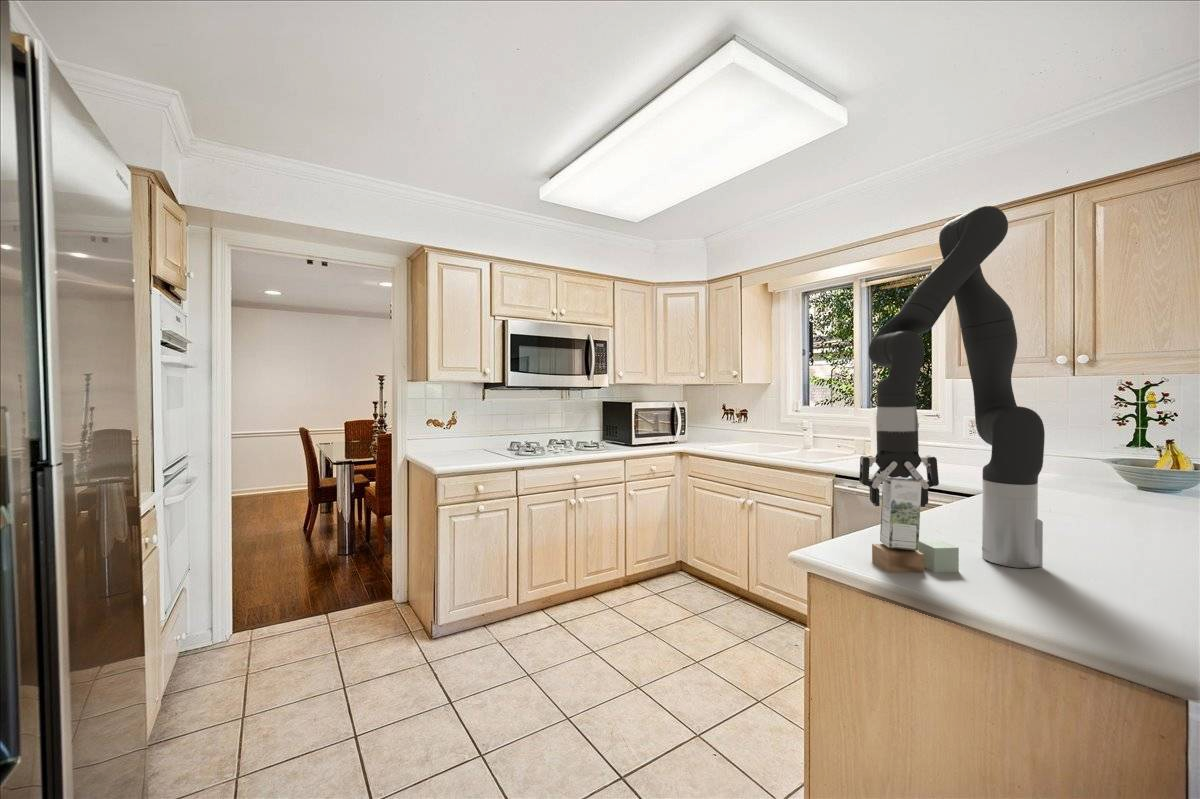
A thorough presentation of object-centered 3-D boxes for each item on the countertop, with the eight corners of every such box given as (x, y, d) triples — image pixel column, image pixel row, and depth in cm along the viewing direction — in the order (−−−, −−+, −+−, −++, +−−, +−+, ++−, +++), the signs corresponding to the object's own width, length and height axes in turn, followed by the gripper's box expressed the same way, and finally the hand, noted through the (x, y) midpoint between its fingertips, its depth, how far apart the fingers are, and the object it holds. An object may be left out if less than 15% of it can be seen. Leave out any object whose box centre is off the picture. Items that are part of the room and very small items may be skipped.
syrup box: (908, 544, 110) (910, 476, 110) (919, 551, 104) (921, 480, 105) (879, 541, 111) (881, 474, 112) (888, 548, 106) (891, 478, 106)
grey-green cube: (941, 563, 109) (941, 540, 109) (958, 572, 104) (958, 547, 104) (918, 564, 109) (918, 540, 109) (934, 572, 104) (934, 548, 104)
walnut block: (905, 562, 111) (905, 543, 111) (924, 573, 104) (924, 554, 104) (872, 562, 111) (872, 543, 111) (888, 573, 104) (888, 554, 104)
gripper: (928, 426, 109) (929, 502, 109) (855, 427, 112) (856, 501, 112) (943, 429, 101) (944, 511, 102) (864, 430, 104) (866, 509, 105)
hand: (898, 505), depth 107 cm, fingers open, 8 cm apart
